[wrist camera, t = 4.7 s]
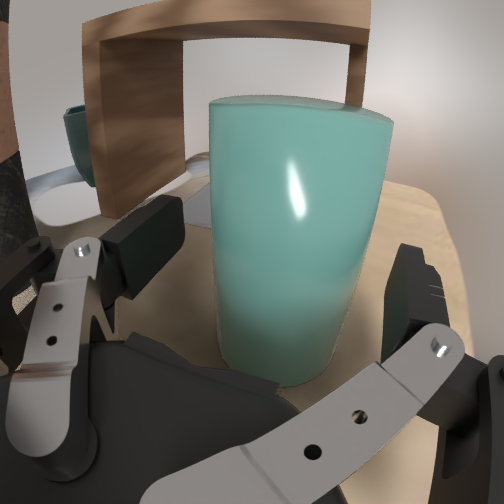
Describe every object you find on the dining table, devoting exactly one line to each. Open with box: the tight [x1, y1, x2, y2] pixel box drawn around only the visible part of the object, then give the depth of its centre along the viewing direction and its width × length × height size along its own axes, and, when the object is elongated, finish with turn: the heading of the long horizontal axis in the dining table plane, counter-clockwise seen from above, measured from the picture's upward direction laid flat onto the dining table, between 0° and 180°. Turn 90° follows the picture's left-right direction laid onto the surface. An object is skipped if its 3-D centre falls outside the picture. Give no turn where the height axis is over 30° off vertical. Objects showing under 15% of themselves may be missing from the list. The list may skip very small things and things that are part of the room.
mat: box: [183, 183, 211, 228], centre depth 27 cm, size 9×9×1 cm
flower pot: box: [63, 105, 96, 187], centre depth 31 cm, size 9×9×9 cm
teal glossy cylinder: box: [209, 95, 394, 387], centre depth 12 cm, size 6×6×11 cm
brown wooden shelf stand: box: [82, 0, 371, 219], centre depth 23 cm, size 20×12×17 cm, turn 71°
